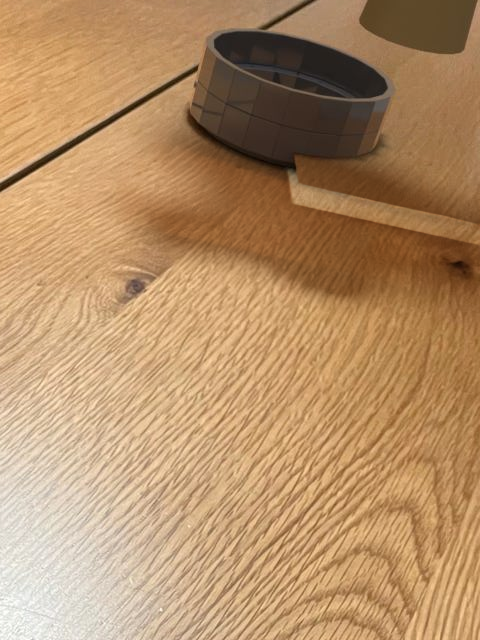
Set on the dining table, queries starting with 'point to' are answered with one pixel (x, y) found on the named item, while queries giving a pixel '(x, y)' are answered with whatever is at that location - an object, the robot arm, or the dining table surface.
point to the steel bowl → (288, 96)
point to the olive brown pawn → (421, 23)
